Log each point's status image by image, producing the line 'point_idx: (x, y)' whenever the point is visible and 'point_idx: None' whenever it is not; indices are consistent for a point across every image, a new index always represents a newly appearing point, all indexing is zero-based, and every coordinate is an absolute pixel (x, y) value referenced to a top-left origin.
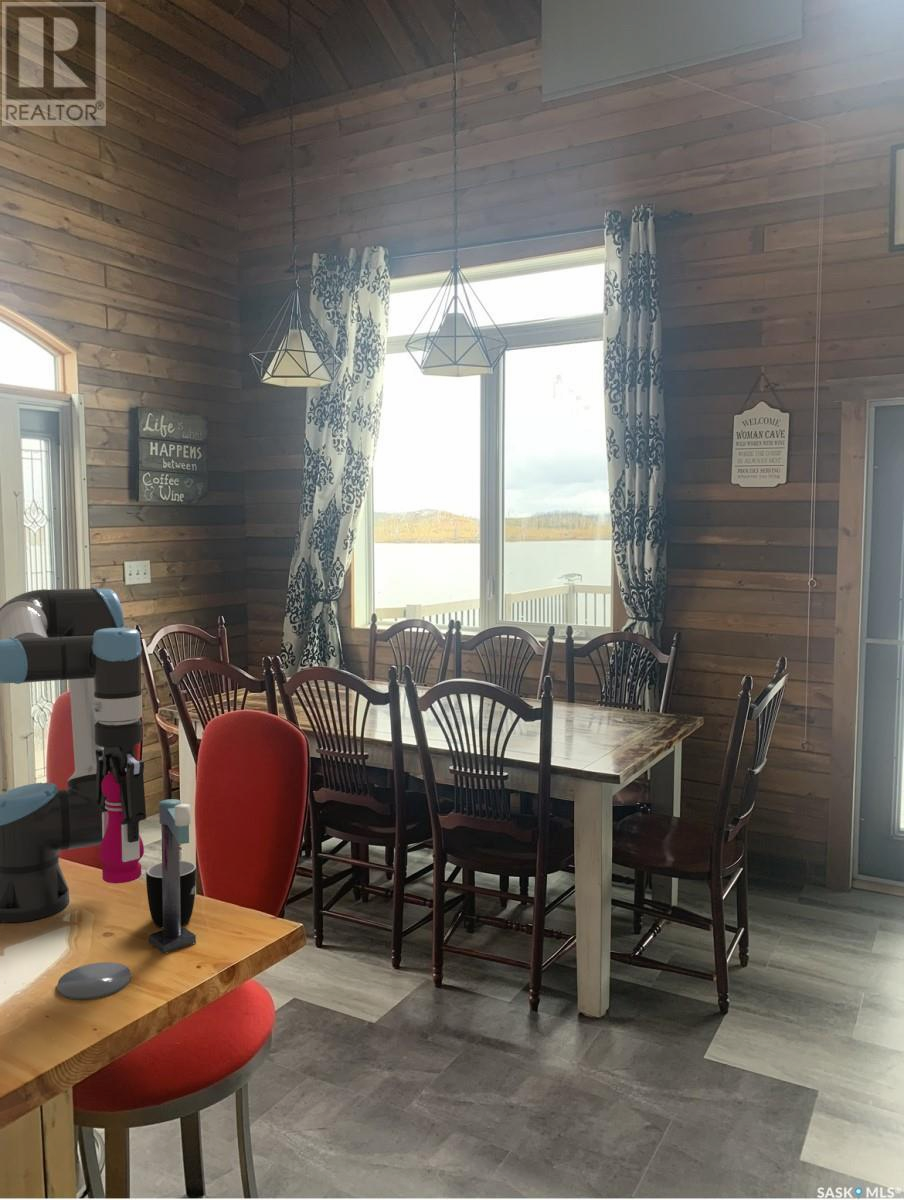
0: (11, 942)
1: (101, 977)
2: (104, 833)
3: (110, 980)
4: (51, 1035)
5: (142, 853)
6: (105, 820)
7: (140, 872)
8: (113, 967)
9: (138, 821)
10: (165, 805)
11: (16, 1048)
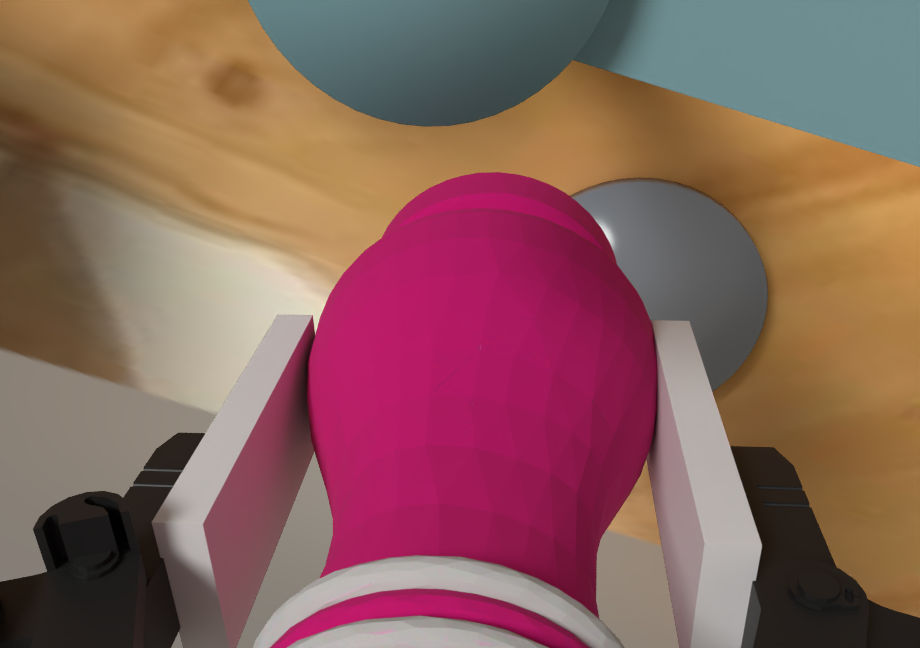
0: (109, 376)
1: (649, 289)
2: (288, 506)
3: (699, 276)
4: (853, 508)
5: (616, 267)
6: (257, 585)
7: (581, 214)
8: (605, 225)
9: (872, 610)
10: (547, 83)
11: None
